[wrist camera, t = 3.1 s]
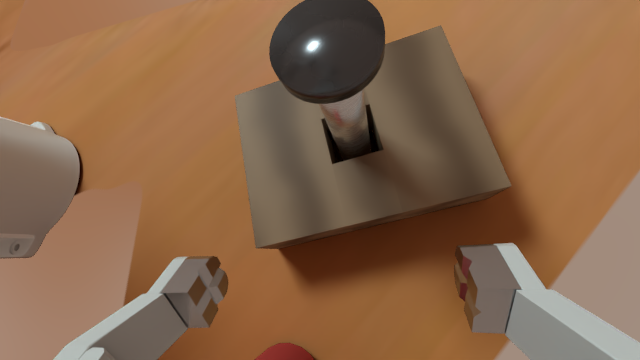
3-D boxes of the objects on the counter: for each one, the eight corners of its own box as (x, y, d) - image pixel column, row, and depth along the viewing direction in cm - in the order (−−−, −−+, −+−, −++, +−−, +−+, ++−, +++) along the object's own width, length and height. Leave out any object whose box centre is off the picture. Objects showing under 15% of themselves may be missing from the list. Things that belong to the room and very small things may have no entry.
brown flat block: (278, 248, 28) (256, 248, 23) (256, 119, 32) (234, 95, 27) (486, 198, 24) (511, 185, 20) (431, 62, 29) (440, 25, 24)
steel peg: (336, 186, 28) (279, 108, 13) (324, 137, 29) (261, 16, 14) (391, 171, 27) (400, 68, 12) (376, 121, 29) (366, -25, 13)
